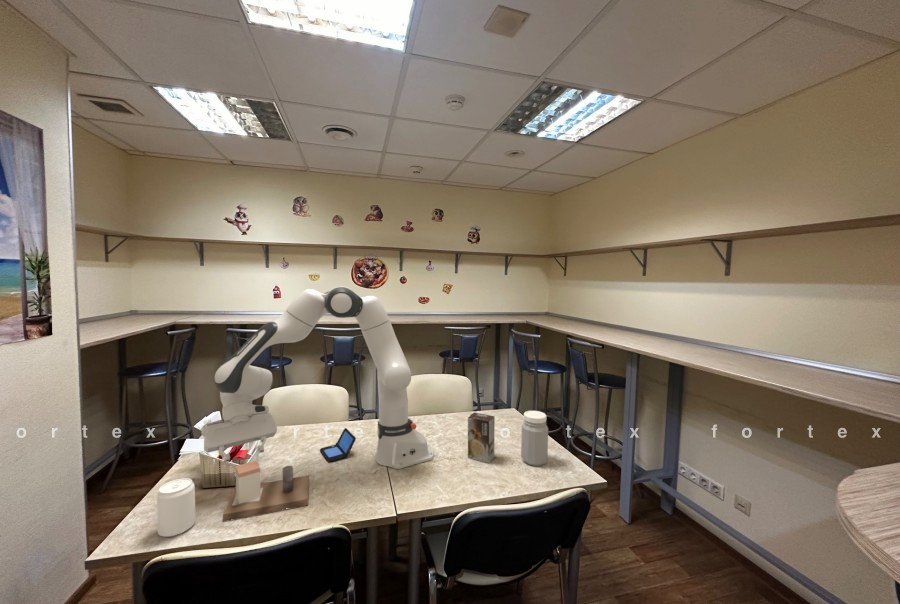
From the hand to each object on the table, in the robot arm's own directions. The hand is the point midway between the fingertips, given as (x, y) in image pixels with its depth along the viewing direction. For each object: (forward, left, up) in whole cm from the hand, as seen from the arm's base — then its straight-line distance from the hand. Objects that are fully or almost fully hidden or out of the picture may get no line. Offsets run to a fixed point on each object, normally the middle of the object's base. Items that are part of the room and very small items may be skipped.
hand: (244, 456), depth 110 cm
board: (-8, +5, -13) cm, 15 cm away
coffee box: (-81, +2, -13) cm, 82 cm away
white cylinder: (+14, +11, -13) cm, 22 cm away
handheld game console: (-28, -20, -13) cm, 37 cm away
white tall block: (-2, +5, -10) cm, 11 cm away
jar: (-99, +11, -13) cm, 100 cm away
